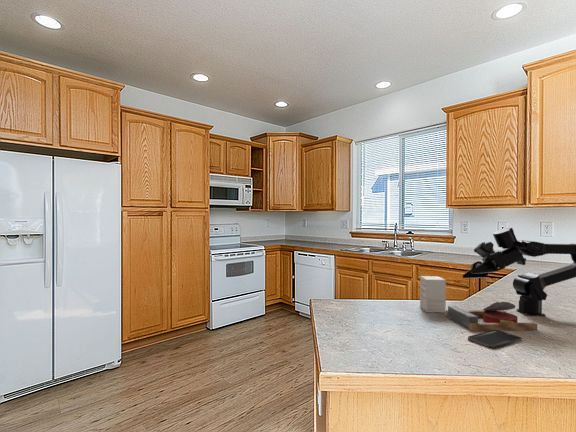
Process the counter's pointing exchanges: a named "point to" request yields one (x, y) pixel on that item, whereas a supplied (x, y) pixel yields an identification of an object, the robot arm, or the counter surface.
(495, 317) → the canned food
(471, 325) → the guide channel
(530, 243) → the robot arm
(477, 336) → the phone
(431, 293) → the supplement box
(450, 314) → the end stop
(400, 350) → the counter surface
